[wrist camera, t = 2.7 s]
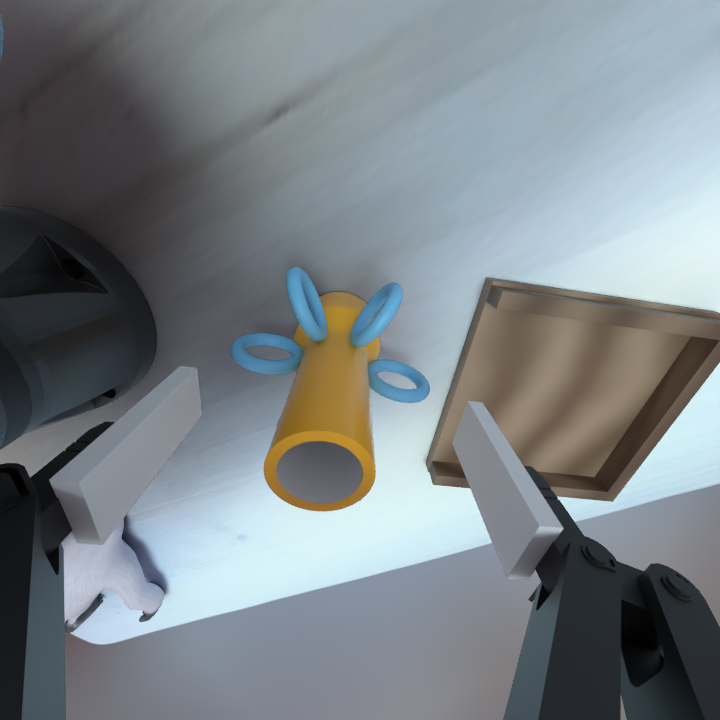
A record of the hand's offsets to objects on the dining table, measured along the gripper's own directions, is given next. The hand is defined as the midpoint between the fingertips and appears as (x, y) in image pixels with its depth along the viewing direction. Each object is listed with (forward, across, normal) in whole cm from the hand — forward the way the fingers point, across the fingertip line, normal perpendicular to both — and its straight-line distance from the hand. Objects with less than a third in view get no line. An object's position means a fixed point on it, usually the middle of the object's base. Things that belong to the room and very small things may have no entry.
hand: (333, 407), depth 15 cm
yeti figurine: (+11, -26, -34) cm, 44 cm away
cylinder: (+11, 0, 0) cm, 11 cm away
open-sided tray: (+11, +20, -4) cm, 23 cm away
